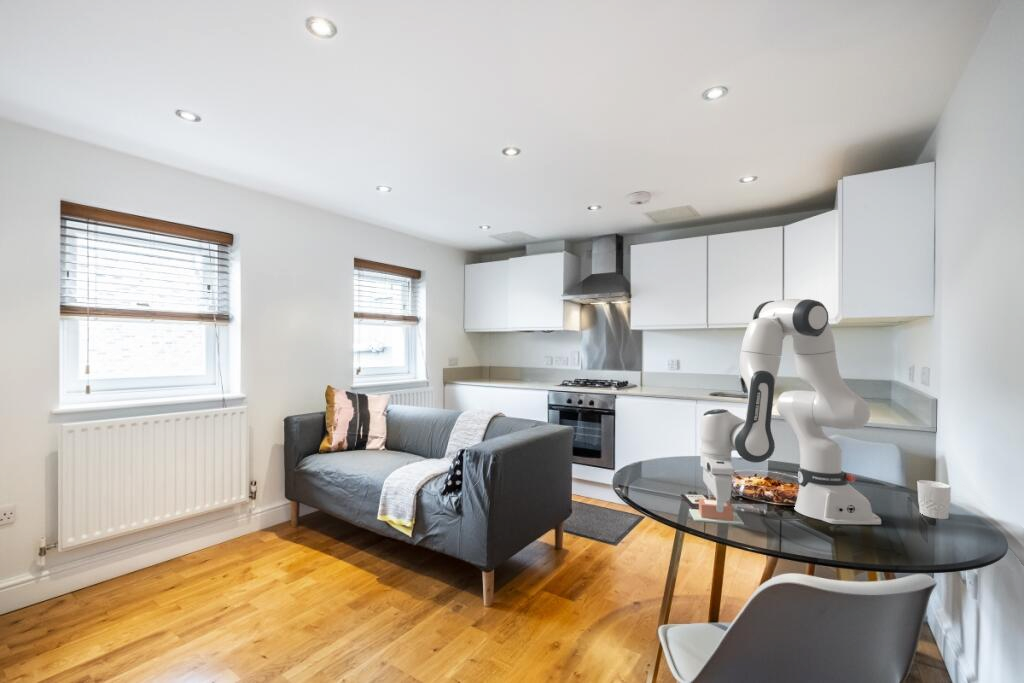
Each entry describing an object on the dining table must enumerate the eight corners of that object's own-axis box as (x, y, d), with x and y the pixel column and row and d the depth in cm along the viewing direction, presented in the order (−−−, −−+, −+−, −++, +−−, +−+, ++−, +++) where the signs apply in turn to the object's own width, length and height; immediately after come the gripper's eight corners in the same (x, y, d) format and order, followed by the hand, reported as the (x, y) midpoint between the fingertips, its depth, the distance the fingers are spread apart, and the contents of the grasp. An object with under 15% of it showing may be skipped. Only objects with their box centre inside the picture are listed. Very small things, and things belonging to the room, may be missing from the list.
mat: (735, 513, 145) (735, 512, 145) (744, 524, 136) (744, 523, 136) (689, 510, 148) (689, 508, 148) (694, 520, 139) (694, 519, 139)
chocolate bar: (697, 512, 144) (680, 494, 162) (697, 515, 144) (680, 497, 162) (726, 514, 143) (706, 495, 161) (726, 517, 143) (706, 497, 161)
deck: (701, 517, 140) (701, 504, 140) (698, 510, 146) (698, 498, 146) (733, 520, 138) (733, 507, 138) (729, 513, 143) (729, 500, 143)
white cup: (944, 513, 147) (944, 482, 147) (955, 521, 139) (955, 489, 140) (913, 509, 150) (913, 479, 150) (922, 517, 143) (922, 485, 143)
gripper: (698, 453, 153) (698, 494, 153) (712, 469, 133) (712, 516, 132) (718, 454, 151) (718, 495, 151) (735, 470, 131) (735, 518, 131)
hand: (715, 505), depth 142 cm, fingers open, 8 cm apart
